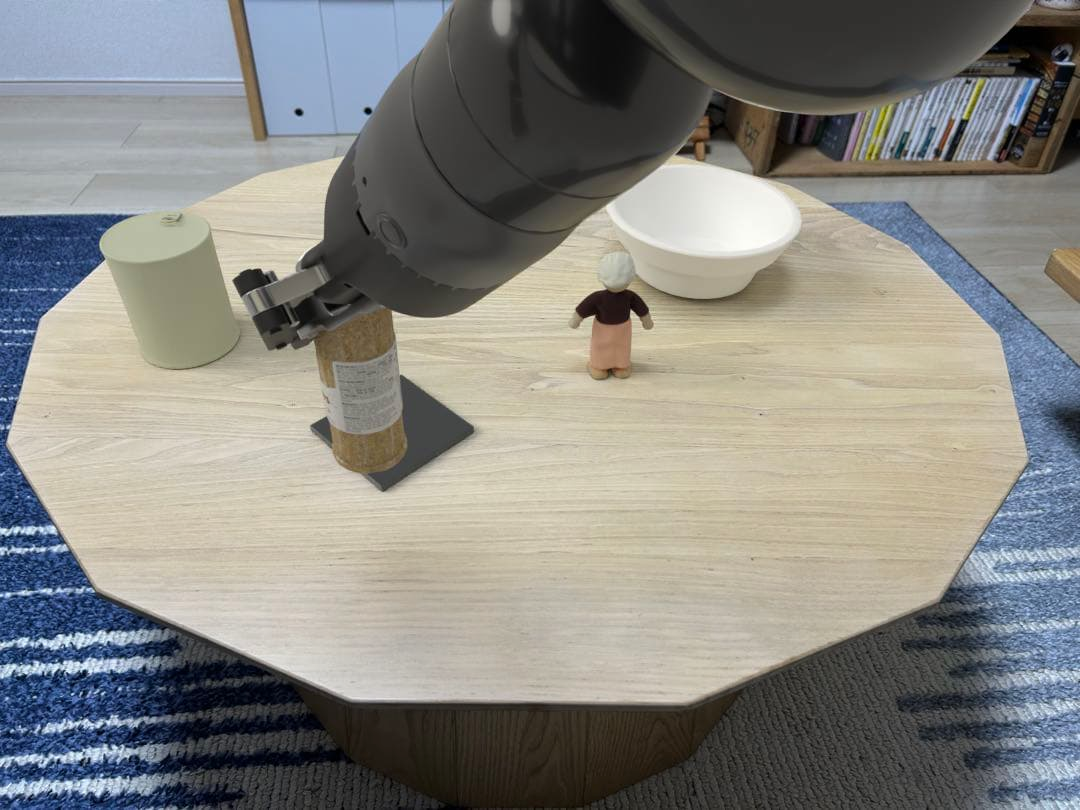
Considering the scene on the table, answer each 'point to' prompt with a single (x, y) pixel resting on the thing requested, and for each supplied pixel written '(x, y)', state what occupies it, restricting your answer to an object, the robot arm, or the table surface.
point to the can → (172, 288)
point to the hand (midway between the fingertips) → (334, 312)
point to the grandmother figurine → (612, 317)
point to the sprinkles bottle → (363, 392)
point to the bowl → (703, 228)
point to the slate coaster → (414, 433)
